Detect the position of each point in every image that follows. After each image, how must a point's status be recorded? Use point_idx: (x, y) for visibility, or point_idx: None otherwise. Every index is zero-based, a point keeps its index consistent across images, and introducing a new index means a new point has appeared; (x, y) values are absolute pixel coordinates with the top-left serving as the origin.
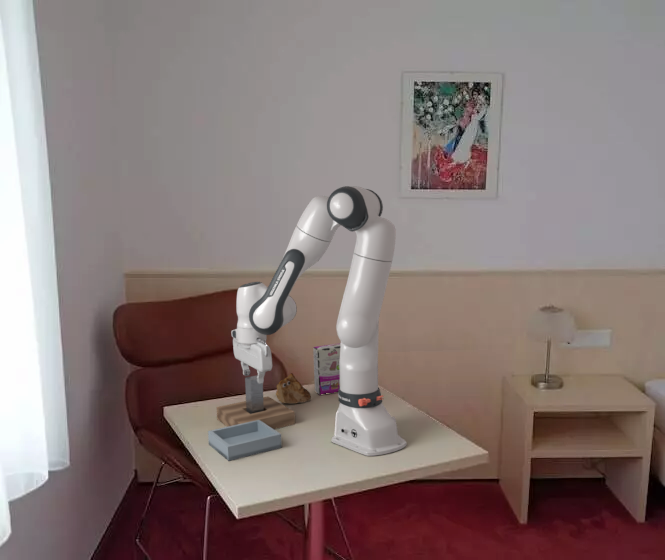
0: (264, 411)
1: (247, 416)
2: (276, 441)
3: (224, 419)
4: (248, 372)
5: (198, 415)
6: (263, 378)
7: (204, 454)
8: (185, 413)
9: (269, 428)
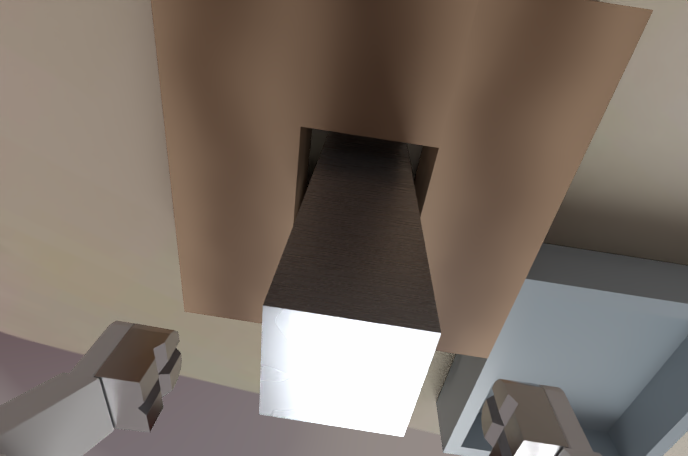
0: (441, 181)
1: None
2: None
3: None
4: (157, 370)
5: (119, 294)
6: (584, 434)
7: None
8: (70, 313)
9: (677, 313)
